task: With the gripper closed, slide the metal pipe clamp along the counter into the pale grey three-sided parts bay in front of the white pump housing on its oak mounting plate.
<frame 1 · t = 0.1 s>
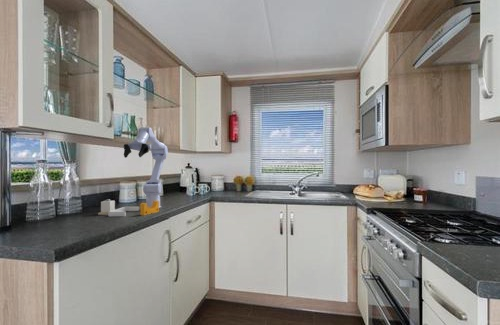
hand: (132, 156, 130), 32 cm above the countertop, tool tilted 50°, fingers open, 7 cm apart
pump housing: (108, 213, 141), on the countertop
pipe clamp: (148, 213, 141), on the countertop
parts bay: (125, 213, 141), on the countertop
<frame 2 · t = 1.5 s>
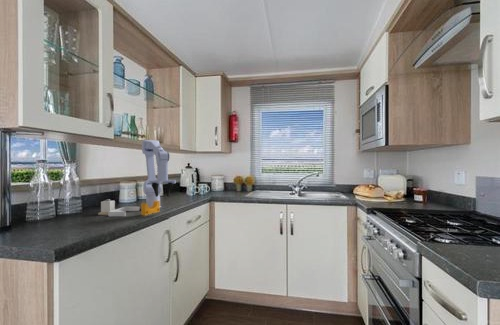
hand: (162, 196, 141), 9 cm above the countertop, tool pointing down, fingers open, 6 cm apart
nothing on the countertop moved.
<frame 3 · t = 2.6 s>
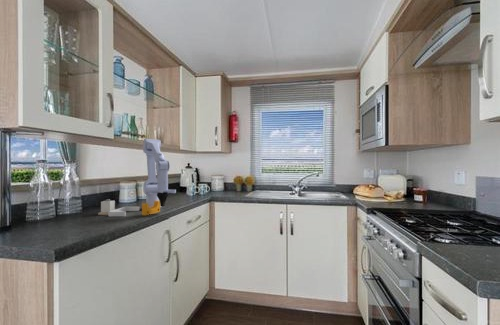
hand: (162, 206, 141), 4 cm above the countertop, tool pointing down, fingers closed
nothing on the countertop moved.
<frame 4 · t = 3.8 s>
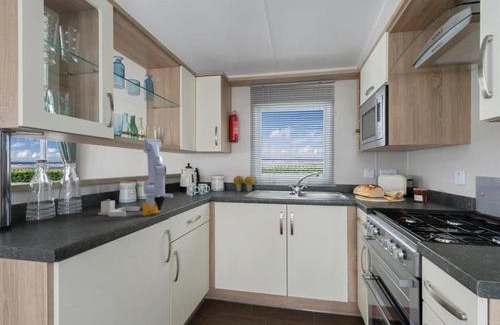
hand: (159, 210, 141), 1 cm above the countertop, tool pointing down, fingers closed
pipe clamp: (150, 213, 140), on the countertop, touching gripper
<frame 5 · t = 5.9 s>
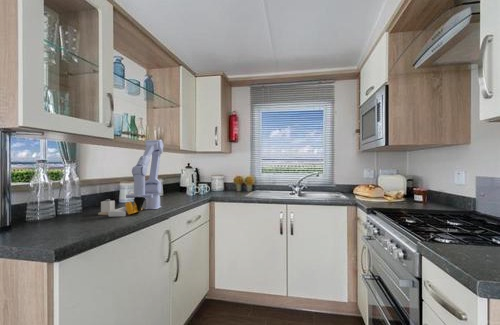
hand: (139, 210, 141), 1 cm above the countertop, tool pointing down, fingers closed
pipe clamp: (134, 212, 140), on the countertop, touching gripper
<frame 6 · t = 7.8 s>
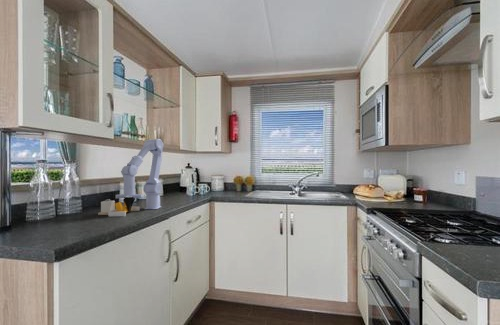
hand: (129, 210, 141), 1 cm above the countertop, tool pointing down, fingers closed
pipe clamp: (124, 213, 140), on the countertop, touching gripper
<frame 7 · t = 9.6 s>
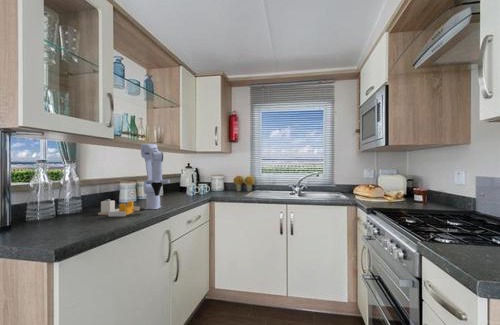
hand: (157, 195, 146), 9 cm above the countertop, tool pointing down, fingers closed
pipe clamp: (125, 214, 140), on the countertop
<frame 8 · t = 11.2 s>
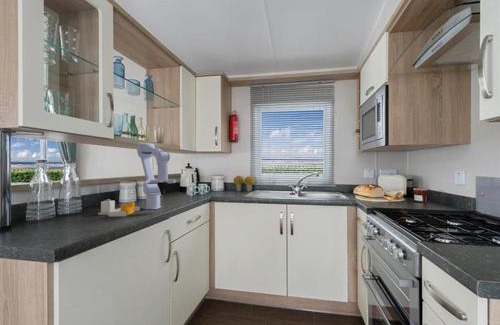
hand: (162, 195, 147), 9 cm above the countertop, tool pointing down, fingers closed
nothing on the countertop moved.
at the end: pipe clamp inside the target area on the parts bay (1.9 cm from its centre), point 0.0 cm above the parts bay's base; pipe clamp moved 12.1 cm from its start; the gripper is holding nothing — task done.
